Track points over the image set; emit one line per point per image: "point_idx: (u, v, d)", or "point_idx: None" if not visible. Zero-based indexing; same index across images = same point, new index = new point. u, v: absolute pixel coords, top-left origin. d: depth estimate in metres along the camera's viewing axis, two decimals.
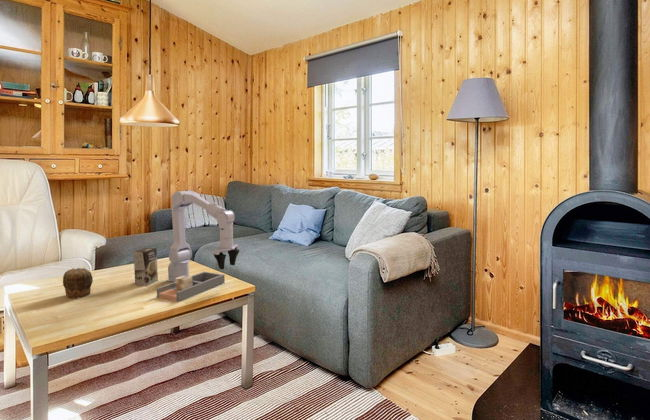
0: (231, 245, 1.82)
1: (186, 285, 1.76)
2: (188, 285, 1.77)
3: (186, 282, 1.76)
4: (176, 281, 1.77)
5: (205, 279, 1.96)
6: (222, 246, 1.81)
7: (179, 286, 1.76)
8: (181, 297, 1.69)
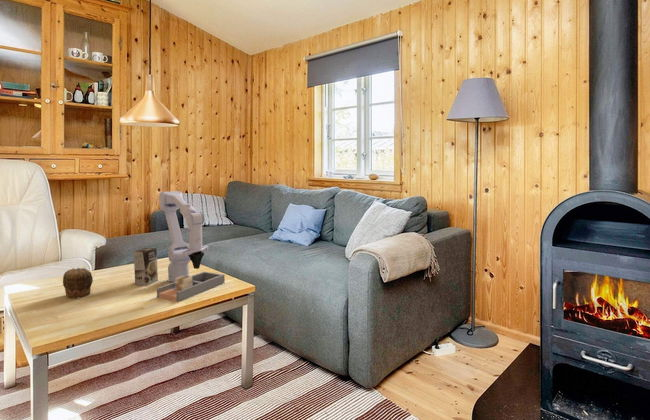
0: (200, 246, 1.82)
1: (186, 285, 1.76)
2: (188, 285, 1.77)
3: (186, 282, 1.76)
4: (176, 281, 1.77)
5: (205, 279, 1.96)
6: (191, 247, 1.81)
7: (179, 286, 1.76)
8: (181, 297, 1.69)
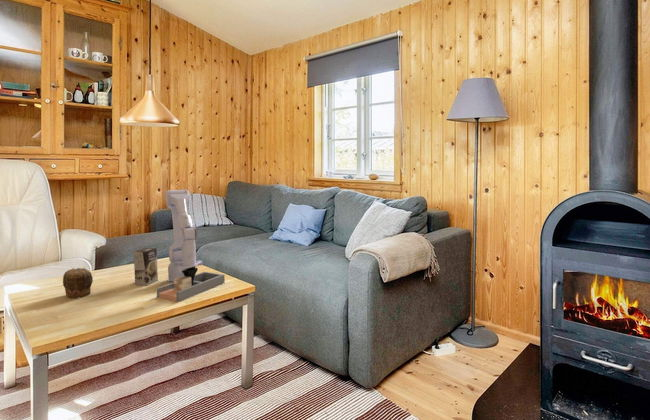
0: (194, 262, 1.79)
1: (185, 285, 1.76)
2: (187, 285, 1.77)
3: (185, 283, 1.76)
4: (175, 282, 1.76)
5: (205, 279, 1.96)
6: (184, 263, 1.78)
7: (178, 287, 1.76)
8: (181, 297, 1.69)
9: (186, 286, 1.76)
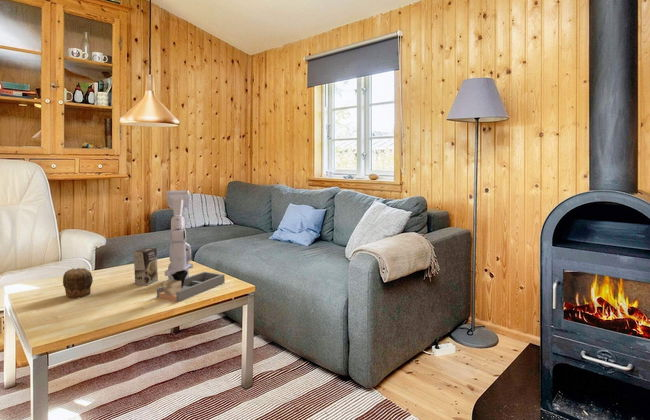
0: (183, 265, 1.74)
1: (174, 289, 1.70)
2: (177, 289, 1.72)
3: (175, 287, 1.70)
4: (164, 285, 1.71)
5: (205, 279, 1.96)
6: (174, 267, 1.73)
7: (167, 290, 1.71)
8: (181, 297, 1.69)
9: (176, 290, 1.71)
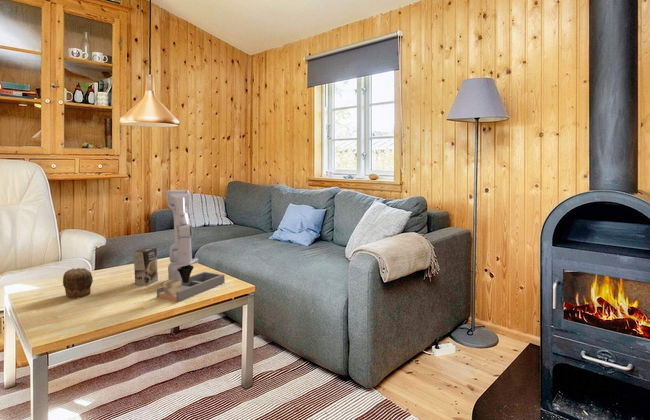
0: (189, 260, 1.77)
1: (174, 289, 1.70)
2: (177, 289, 1.72)
3: (175, 287, 1.70)
4: (164, 285, 1.71)
5: (205, 279, 1.96)
6: (180, 261, 1.76)
7: (167, 290, 1.71)
8: (181, 297, 1.69)
9: (176, 290, 1.71)
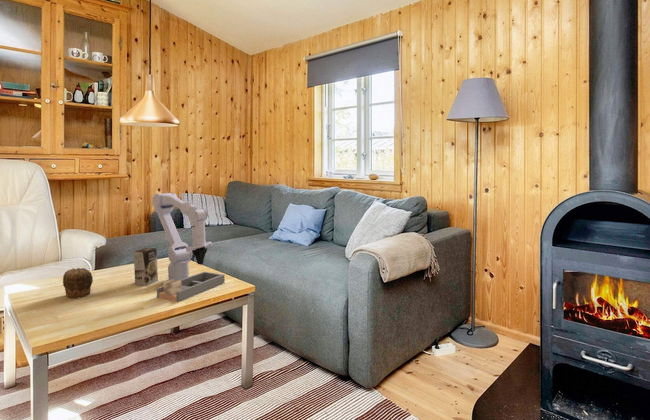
0: (203, 242, 1.86)
1: (174, 289, 1.70)
2: (177, 289, 1.72)
3: (175, 287, 1.70)
4: (164, 285, 1.71)
5: (205, 279, 1.96)
6: (194, 243, 1.85)
7: (167, 290, 1.71)
8: (181, 297, 1.69)
9: (176, 290, 1.71)
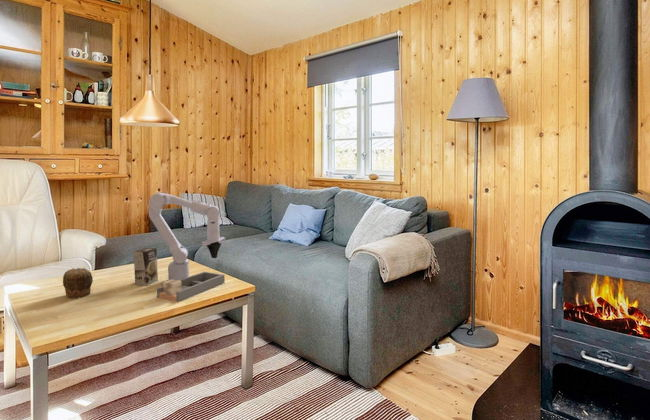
0: (218, 237, 1.98)
1: (174, 289, 1.70)
2: (177, 289, 1.72)
3: (175, 287, 1.70)
4: (164, 285, 1.71)
5: (205, 279, 1.96)
6: (209, 238, 1.96)
7: (167, 290, 1.71)
8: (181, 297, 1.69)
9: (176, 290, 1.71)
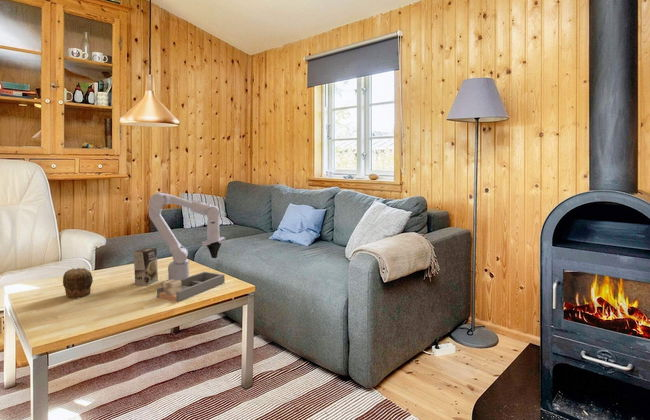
0: (218, 237, 1.98)
1: (174, 289, 1.70)
2: (177, 289, 1.72)
3: (175, 287, 1.70)
4: (164, 285, 1.71)
5: (205, 279, 1.96)
6: (209, 238, 1.96)
7: (167, 290, 1.71)
8: (181, 297, 1.69)
9: (176, 290, 1.71)
